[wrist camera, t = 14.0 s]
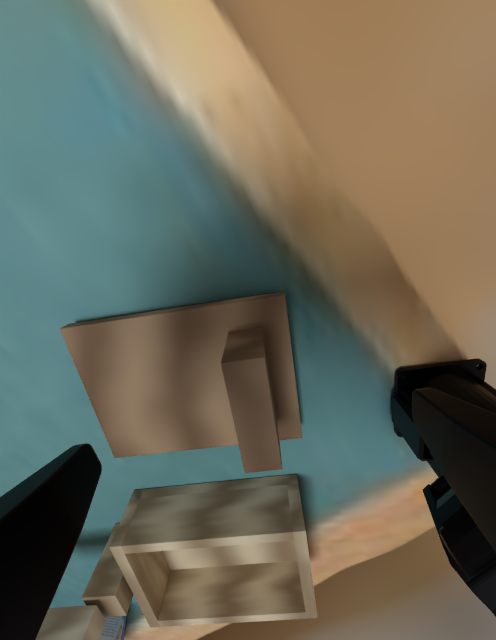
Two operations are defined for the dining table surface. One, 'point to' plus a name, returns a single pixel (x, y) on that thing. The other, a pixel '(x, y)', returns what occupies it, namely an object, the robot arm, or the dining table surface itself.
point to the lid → (193, 378)
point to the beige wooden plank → (72, 624)
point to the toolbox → (208, 555)
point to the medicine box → (114, 628)
